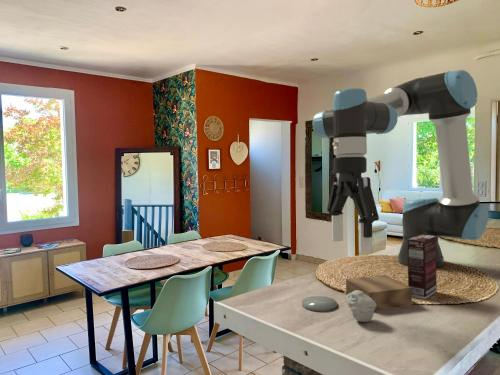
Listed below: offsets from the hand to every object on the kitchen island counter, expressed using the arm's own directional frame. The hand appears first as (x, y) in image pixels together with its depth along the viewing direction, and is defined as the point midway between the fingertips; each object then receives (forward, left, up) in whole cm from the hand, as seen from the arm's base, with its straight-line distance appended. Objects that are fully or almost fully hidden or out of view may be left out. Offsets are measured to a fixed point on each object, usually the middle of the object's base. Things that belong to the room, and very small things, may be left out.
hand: (350, 246), depth 90 cm
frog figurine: (-1, +3, -17) cm, 18 cm away
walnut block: (-12, -7, -17) cm, 22 cm away
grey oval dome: (+4, -9, -17) cm, 20 cm away
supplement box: (-26, -7, -17) cm, 32 cm away
